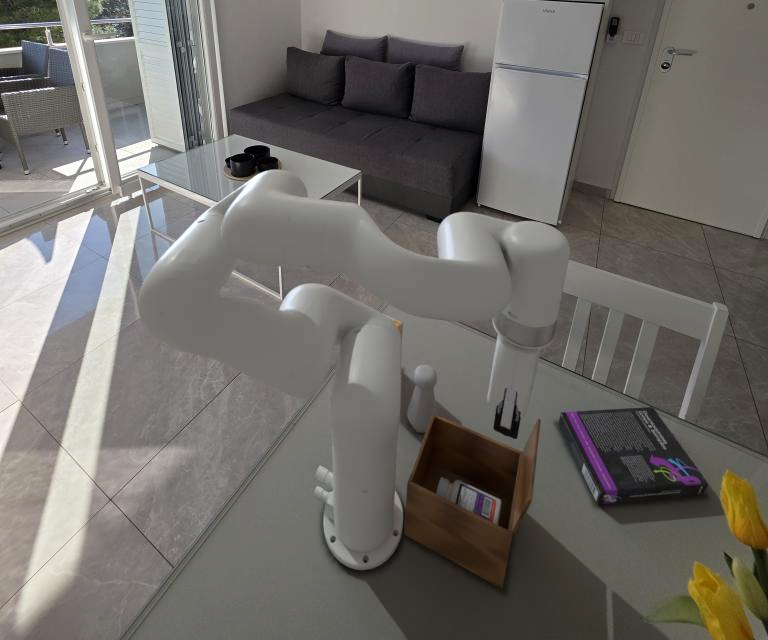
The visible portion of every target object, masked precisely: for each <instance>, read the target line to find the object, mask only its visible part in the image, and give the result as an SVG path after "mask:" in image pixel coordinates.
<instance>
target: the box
mask: <svg viewBox="0 0 768 640" xmlns="http://www.w3.org/2000/svg"><path fill="white" fill-rule="evenodd" d="M558 426H559V428H560V430H561V432H562V434H563V437H564V438H565V440H566V443H567V445H568V447H569V449H570V451H571V453H572V455H573V457H574V460H575V461H576V463H577V466H578V467H579V468H578V469H579V470H580V471H581V474H582V475H583V477H584V480H585V482H586V484H587V486H588V488H589V490H590V493H591V495H592V497H593V499H594V501H595V504H596V505H606V504H616V503H624V502H626V503H627V502H639V501H648V500H659V499H660V500H661V499H670V498H681V497H692V496H702V495H703V496H704V495H705V494H706V492H707V489H708V486H709V485H710V484H709V482H708V481H707V479H706V478H705V477H704V476H703V474H702V472H700V470H699V469H698V467H697V466H696V464H695V463H694V462H693V461H692V459H691V457H690V456H689V455H688V453H687V452H686V450H684V448H683V447H682V445H681V444H680V442H679V441H678V439H676V437H675V435H674V434H673V433H672V431H671V430H670V429H669V427H668V426H667V424H666V423H665V422H664V420H663V419H662V417H661V416H660V415H659V414H658V413H657V410H656V409H655V407H654V406H645V407H628V408H613V409H612V408H611V409H591V410H580V411H579V410H578V411H577V410H576V411H563V412H562V411H561V412H560V414H559V419H558Z"/></svg>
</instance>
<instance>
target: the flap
mask: <svg viewBox="0 0 768 640" xmlns="http://www.w3.org/2000/svg"><path fill="white" fill-rule="evenodd" d="M541 422H542V420H541V419H540V418H537V420H536V422H535V424H534V426H533V429H532V430H531V431H530V434H529V436H528V438H527V440H526V442H525V445H524V446H523V449H522V452H523V454H522V461H521V468H520V475H519V483H518V490H517V497H516V504H515V511H514V518H513V526H512V532H513V534H515V533H516V532H517V530H518V528H519V526H520V524H521V522H522V521H523V519H524V517H525V516H526V514H527V512H528V510H529V508H530V506H531V504H532V502H533V497H534V487H535V478H536V469H537V458H538V450H539V440H540V431H541Z"/></svg>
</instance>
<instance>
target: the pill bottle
mask: <svg viewBox="0 0 768 640" xmlns="http://www.w3.org/2000/svg"><path fill="white" fill-rule="evenodd" d="M436 494H437V495H439V496H441V497H443V498H445V499H447V500H449V501H451V502H453V503H455V504H457V505H459V506H461V507H463V508H465V509H467V510H469V511H471V512H473V513H475V514H477V515H479V516H481V517H483V518H485V519H487V520H489V521H491V522H492V523H494V524H496V525H498V522H499V516H500V511H501V504H502V501H501V500H500V499H498V498H497V497H495V496H492V495H490V494H488V493H486V492H484V491H482V490H480V489H478V488H476V487H473V486H471V485H469V484H467V483H465V482H463V481H461V480H456V481H455V482H454V483H453V484H452V483H450V481H448V480H447V479H445V478H443V477H441V478H440V481H439V484H438V488H437V492H436Z"/></svg>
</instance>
